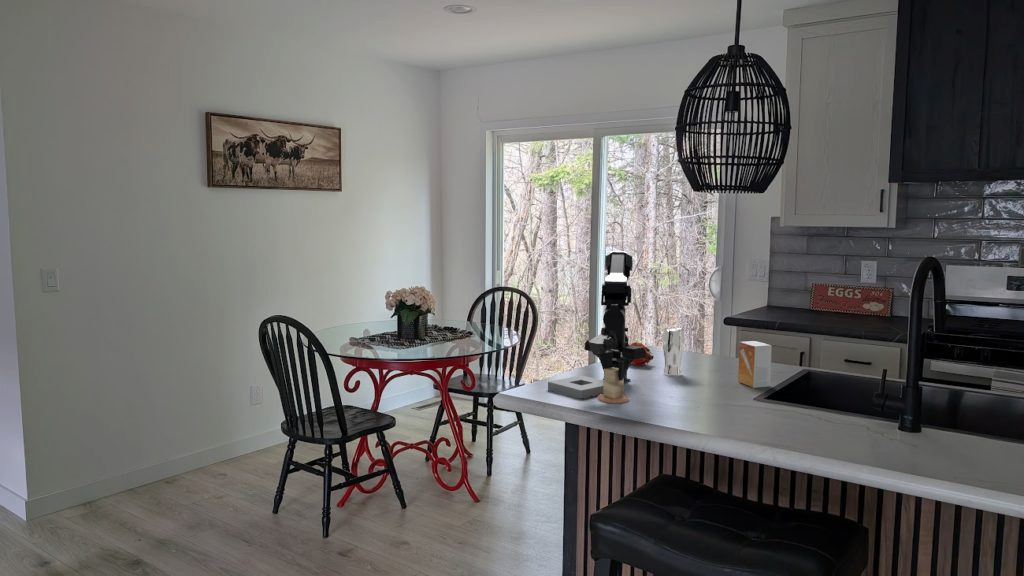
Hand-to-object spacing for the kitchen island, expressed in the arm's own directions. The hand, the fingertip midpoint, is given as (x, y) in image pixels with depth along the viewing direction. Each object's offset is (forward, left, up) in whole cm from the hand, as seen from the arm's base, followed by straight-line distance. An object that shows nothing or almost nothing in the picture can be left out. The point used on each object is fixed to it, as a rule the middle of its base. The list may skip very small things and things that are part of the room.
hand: (613, 378), depth 207 cm
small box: (-48, +15, -6) cm, 51 cm away
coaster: (0, 0, -6) cm, 6 cm away
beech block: (0, 0, -5) cm, 5 cm away
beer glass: (-40, -10, -6) cm, 42 cm away
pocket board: (0, -13, -6) cm, 14 cm away
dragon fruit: (-43, -27, -6) cm, 51 cm away
